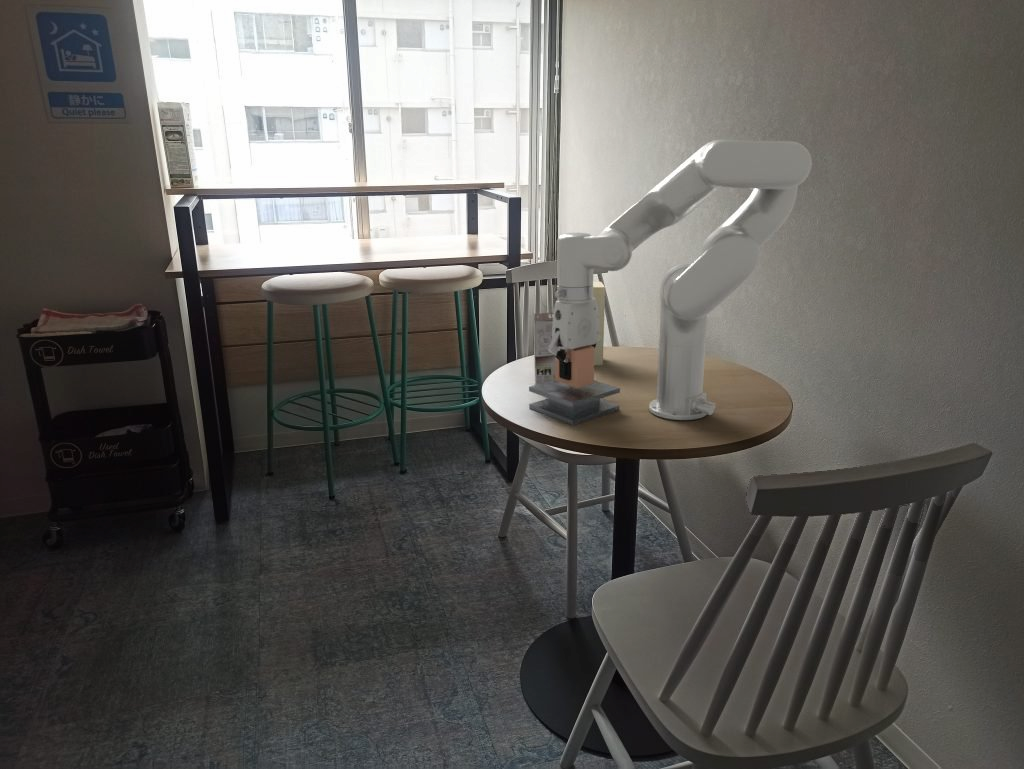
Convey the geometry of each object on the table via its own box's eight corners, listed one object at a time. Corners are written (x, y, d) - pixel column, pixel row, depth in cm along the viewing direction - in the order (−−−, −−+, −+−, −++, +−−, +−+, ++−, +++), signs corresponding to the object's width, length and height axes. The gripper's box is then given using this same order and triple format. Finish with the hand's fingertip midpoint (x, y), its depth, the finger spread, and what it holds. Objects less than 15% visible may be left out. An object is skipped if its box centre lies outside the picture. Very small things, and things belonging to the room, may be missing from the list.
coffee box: (561, 385, 176) (561, 320, 171) (534, 385, 176) (534, 320, 171) (559, 373, 184) (559, 311, 179) (534, 374, 185) (533, 312, 180)
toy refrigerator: (606, 365, 191) (607, 286, 184) (578, 366, 191) (579, 287, 184) (602, 357, 198) (603, 281, 192) (575, 357, 198) (575, 281, 192)
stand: (619, 409, 158) (619, 388, 157) (572, 425, 150) (573, 402, 149) (575, 394, 169) (575, 374, 167) (529, 408, 160) (529, 386, 159)
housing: (593, 382, 156) (594, 342, 154) (577, 387, 153) (577, 346, 151) (571, 375, 162) (571, 336, 159) (555, 380, 159) (554, 340, 156)
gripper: (557, 301, 144) (557, 388, 149) (616, 290, 154) (614, 371, 159) (532, 296, 149) (533, 380, 155) (591, 285, 159) (590, 364, 165)
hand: (574, 375), depth 157 cm, fingers closed on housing, 4 cm apart
